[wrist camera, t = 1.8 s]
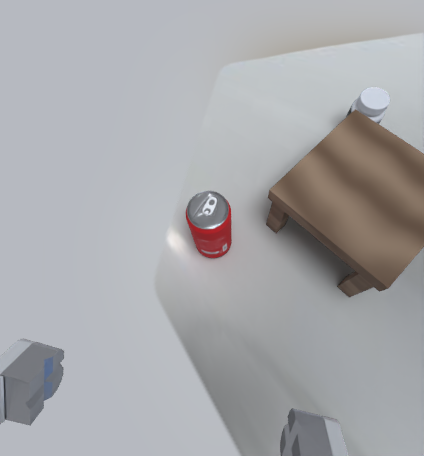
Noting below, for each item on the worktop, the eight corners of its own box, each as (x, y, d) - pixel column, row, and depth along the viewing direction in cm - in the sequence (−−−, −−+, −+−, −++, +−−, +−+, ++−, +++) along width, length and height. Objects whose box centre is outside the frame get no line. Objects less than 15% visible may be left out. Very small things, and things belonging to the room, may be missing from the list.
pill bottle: (346, 119, 52) (366, 79, 45) (373, 131, 51) (398, 92, 43) (333, 139, 51) (351, 102, 43) (361, 152, 50) (384, 116, 42)
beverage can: (190, 251, 46) (176, 220, 35) (205, 221, 47) (196, 182, 36) (222, 265, 45) (219, 238, 34) (236, 234, 46) (238, 198, 35)
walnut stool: (330, 158, 50) (355, 109, 40) (419, 223, 45) (474, 186, 35) (261, 224, 47) (269, 189, 36) (350, 302, 42) (388, 288, 32)
